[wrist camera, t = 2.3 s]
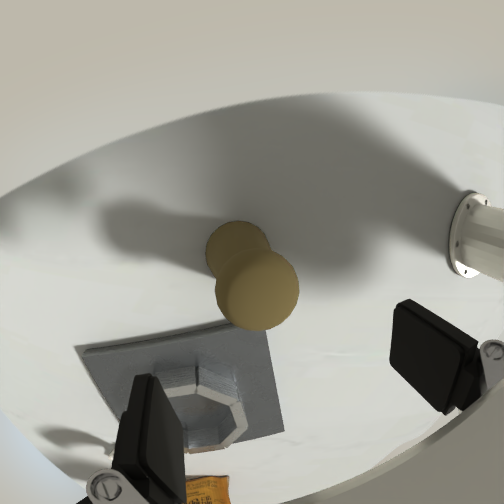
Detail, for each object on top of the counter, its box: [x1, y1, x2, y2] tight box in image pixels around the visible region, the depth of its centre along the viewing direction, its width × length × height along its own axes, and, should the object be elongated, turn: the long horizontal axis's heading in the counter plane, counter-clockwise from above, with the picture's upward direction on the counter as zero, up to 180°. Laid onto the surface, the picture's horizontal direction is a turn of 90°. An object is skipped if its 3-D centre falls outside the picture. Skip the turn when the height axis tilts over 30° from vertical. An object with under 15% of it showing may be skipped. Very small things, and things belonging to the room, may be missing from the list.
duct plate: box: [82, 323, 285, 454], centre depth 27 cm, size 20×18×4 cm
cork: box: [205, 221, 299, 331], centre depth 21 cm, size 6×6×11 cm
